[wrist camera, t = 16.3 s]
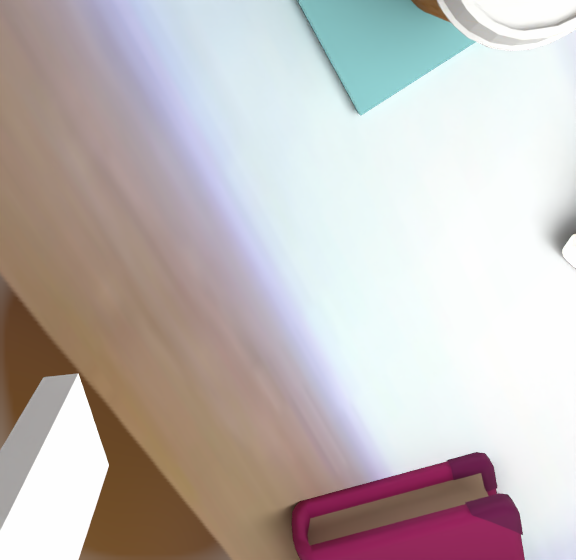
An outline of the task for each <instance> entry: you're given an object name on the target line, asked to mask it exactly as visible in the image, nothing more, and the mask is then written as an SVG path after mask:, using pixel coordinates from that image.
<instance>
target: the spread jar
mask: <svg viewBox="0 0 576 560" xmlns="http://www.w3.org/2000/svg"><path fill="white" fill-rule="evenodd" d="M562 254H563V256H564V258H565V259H566V260H567V261H568V262H569V263H570V264H571V265H572V266H573V267H575V268H576V234H574V235H572V236H571V237H570V239H569V240H568V242H567V243H566V245H565V246H564V248H563V249H562Z"/></svg>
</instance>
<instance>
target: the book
mask: <svg viewBox="0 0 576 560" xmlns="http://www.w3.org/2000/svg"><path fill="white" fill-rule="evenodd" d="M496 488H497V483H496V477H495V472H494V466H493V465H492V463H491V461H490V459H489V458H488V457H487V455H486V454H485V453H478V452H476V453H472V454H468V455H465V456H461V457H457V458H454V459H450V460H448V461H447V462H443V463H440V464H436V465H432V466H428V467H425V468H421V469H417V470H414V471H410V472H406V473H403V474H399V475H395V476H392V477H388V478H384V479H381V480H377V481H373V482H370V483H366V484H362V485H358V486H355V487H351V488H347V489H344V490H340V491H336V492H333V493H329V494H325V495H322V496H318V497H314V498H311V499H307V500H303V501H300V502H299V503H298V504H297V505H296V506H295V508H294V510H293V511H292V533H293V541H294V545H295V549H296V551H297V553H298V556H299V558H300V560H525V559H524V552H523V546H522V540H521V534H522V535H523V532H522V526H521V520H520V513H519V511H518V510H517V508H516V506H515V504H514V502H513V500H512V499H511V498H510V497H509V495H507V494H499V493H498V494H497V492H496Z"/></svg>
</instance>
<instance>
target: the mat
mask: <svg viewBox="0 0 576 560" xmlns="http://www.w3.org/2000/svg"><path fill="white" fill-rule="evenodd" d="M297 1H298V3H299V5H300V7H301V8H302V10H303V12H304V14H305V16H306V18H307V20H308V21H309V23H310V25H311V27H312V29H313V31H314V32H315V34H316V36H317V38H318V40H319V42H320V43H321V45H322V47H323V49H324V51H325V53H326V55H327V56H328V58H329V60H330V62H331V64H332V66H333V67H334V69H335V71H336V73H337V75H338V77H339V78H340V80H341V82H342V84H343V86H344V88H345V90H346V91H347V93H348V95H349V97H350V99H351V101H352V102H353V104H354V106H355V108H356V110H357V112H358V113H359V114H360V115H363V114H364V113H366V112H367V111H369V110H370V109H372V108H373V107H375V106H377V105H378V104H380V103H381V102H383V101H384V100H386V99H388V98H389V97H391V96H392V95H394V94H395V93H397V92H398V91H400V90H402V89H403V88H405V87H406V86H408V85H409V84H411V83H412V82H414V81H416V80H417V79H419V78H420V77H422V76H423V75H425V74H427V73H428V72H430V71H431V70H433V69H434V68H436V67H437V66H439V65H441V64H442V63H444V62H445V61H447V60H448V59H450V58H452V57H453V56H455V55H456V54H458V53H459V52H461V51H462V50H464V49H466V48H467V47H469V46H470V45H472V44H473V43H475V42H476V41H474V40H472V39H469V38H467V37H466V36H465V35H464V34H462V33H461V32H460V31H459V30H458V29H457V28H456V27H455V26H454V25H453V24H452V23H450V22H448V21H445V20H443V19H441V18H438V17H436V16H434V15H431V14H428V13H426V12H424V11H422V10H421V9H419V8H418V7H417V6H416V5H415V4H414V3H413V2H412V1H411V0H297Z"/></svg>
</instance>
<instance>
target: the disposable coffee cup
mask: <svg viewBox="0 0 576 560" xmlns="http://www.w3.org/2000/svg"><path fill="white" fill-rule="evenodd" d="M411 1H412V2H413V3H414V4H415V5H416V6H417V7H418V8H419V9H421V10H422V11H424V12H426V13H428V14H431V15H434V16H436V17H438V18H441V19H443V20H445V21H448V22H450V23H452V24H453V25H454V26H455V27H456V28H457V29H458V30H459V31H460V32H461V33H462V34H464V35H465V36H466V37H467V38H469V39H472V40H474V41H476V42H478V43H480V44H482V45H485V46H487V47H489V48H494V49H501V50H507V51H514V50H529V49H532V48H536V47H539V46H543V45H546V44H549V43H552V42H554V41H555V40H557V39H559V38H561V37H563V36H565V35H567V34H569V33H571V32H572V31H573V30H575V29H576V0H411Z"/></svg>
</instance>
